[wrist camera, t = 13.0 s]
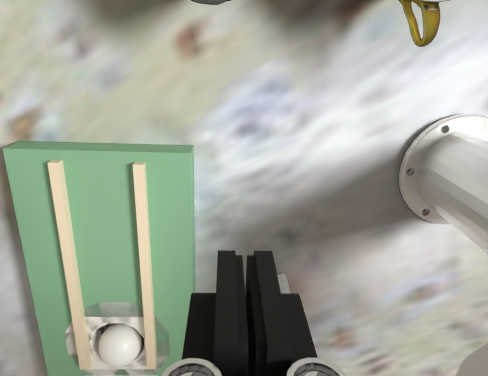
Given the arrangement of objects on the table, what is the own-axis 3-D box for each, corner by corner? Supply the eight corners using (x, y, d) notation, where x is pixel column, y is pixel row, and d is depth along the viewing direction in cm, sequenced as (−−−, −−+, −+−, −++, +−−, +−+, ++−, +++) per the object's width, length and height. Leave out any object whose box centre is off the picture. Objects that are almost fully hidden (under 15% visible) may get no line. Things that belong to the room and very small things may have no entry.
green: (193, 145, 40) (187, 162, 34) (195, 373, 51) (192, 413, 45) (18, 141, 39) (-17, 157, 33) (61, 373, 50) (40, 415, 44)
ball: (126, 339, 42) (151, 359, 45) (124, 307, 46) (147, 328, 49) (88, 363, 42) (115, 382, 45) (90, 329, 46) (114, 348, 49)
